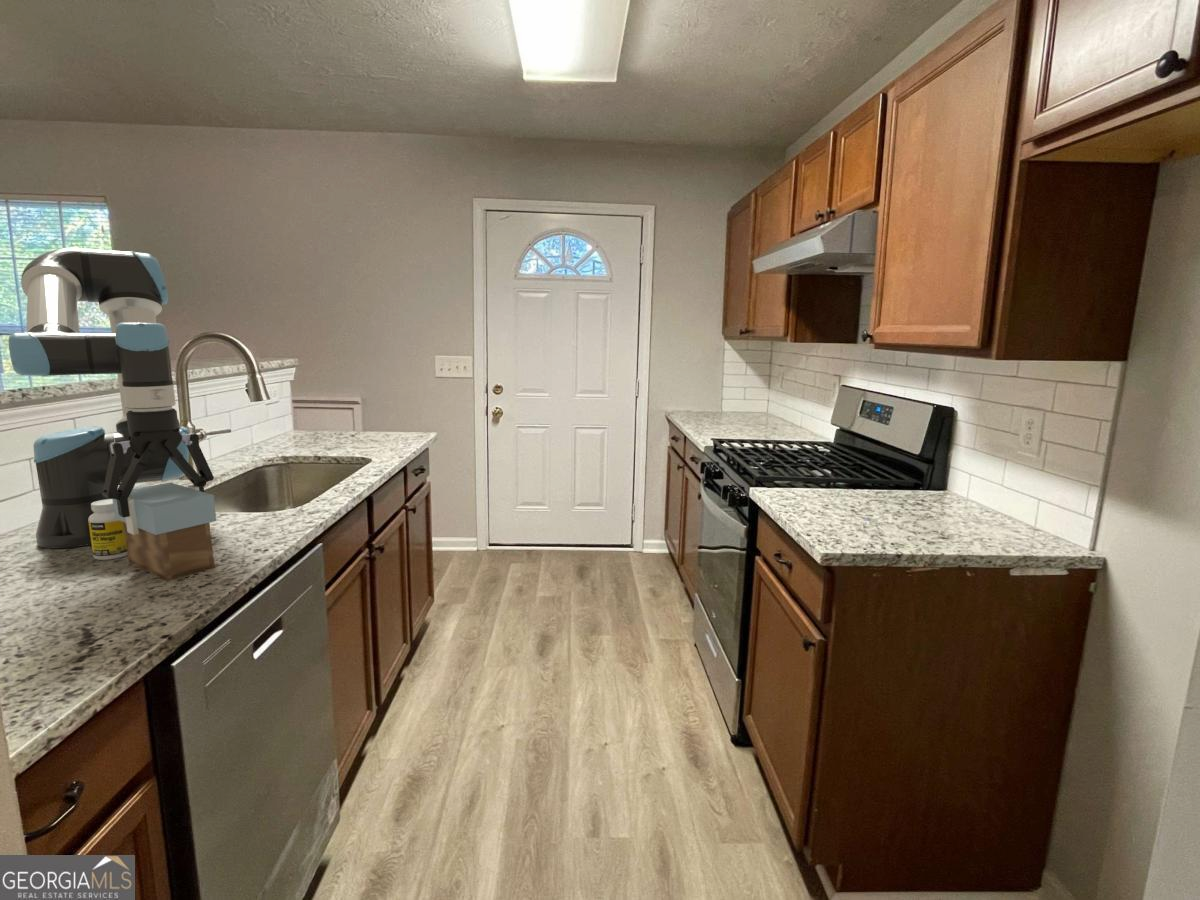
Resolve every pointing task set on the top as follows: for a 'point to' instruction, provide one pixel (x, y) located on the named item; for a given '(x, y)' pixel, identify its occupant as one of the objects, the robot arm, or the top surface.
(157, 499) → the light blue block
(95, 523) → the pill bottle
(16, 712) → the top surface
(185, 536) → the box
